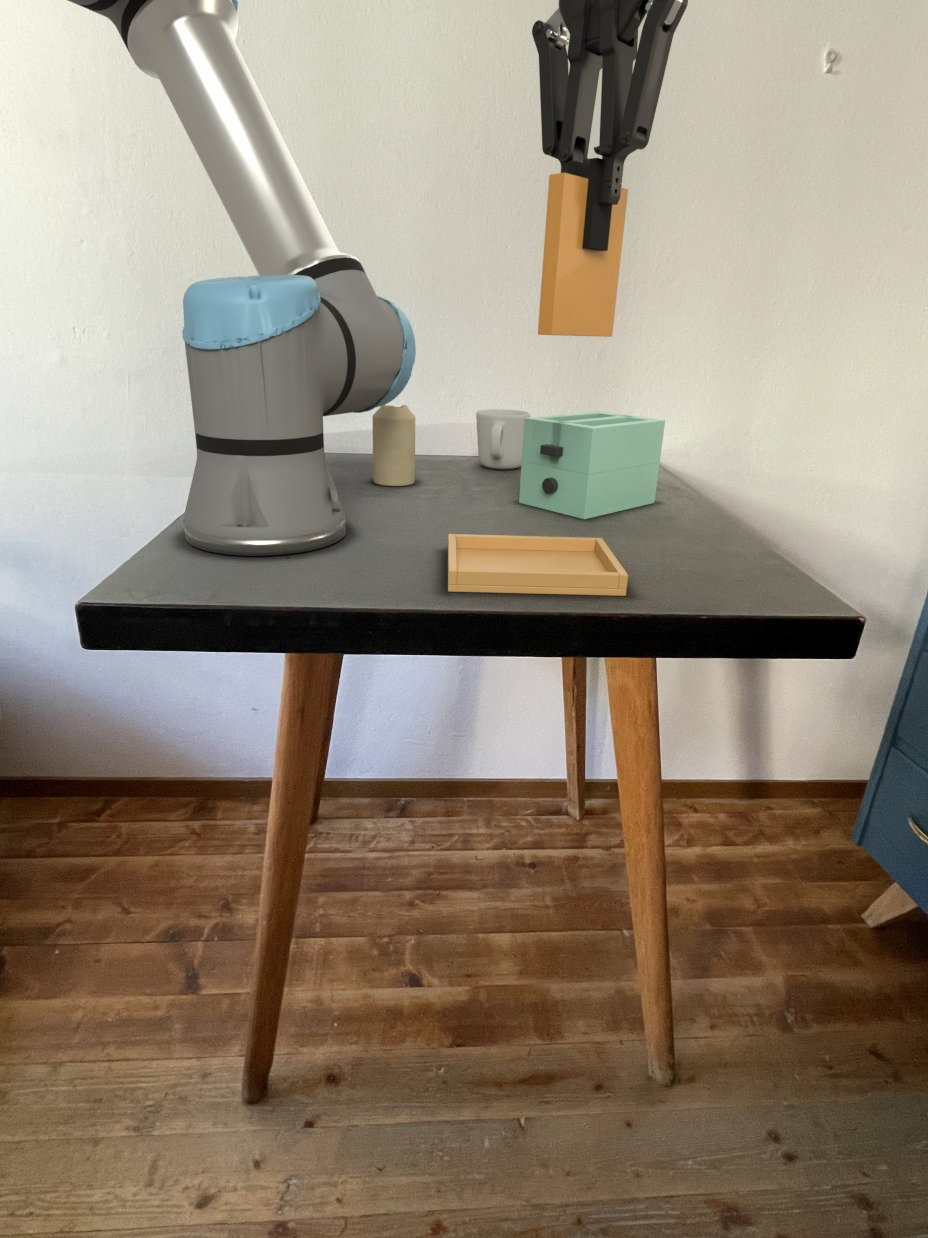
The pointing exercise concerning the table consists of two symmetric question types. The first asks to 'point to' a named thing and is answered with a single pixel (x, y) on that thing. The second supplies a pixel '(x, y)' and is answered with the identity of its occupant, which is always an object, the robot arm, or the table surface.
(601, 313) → the orange rectangular panel
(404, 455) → the candle
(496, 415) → the cup
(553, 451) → the toaster
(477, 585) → the tray
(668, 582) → the table surface
